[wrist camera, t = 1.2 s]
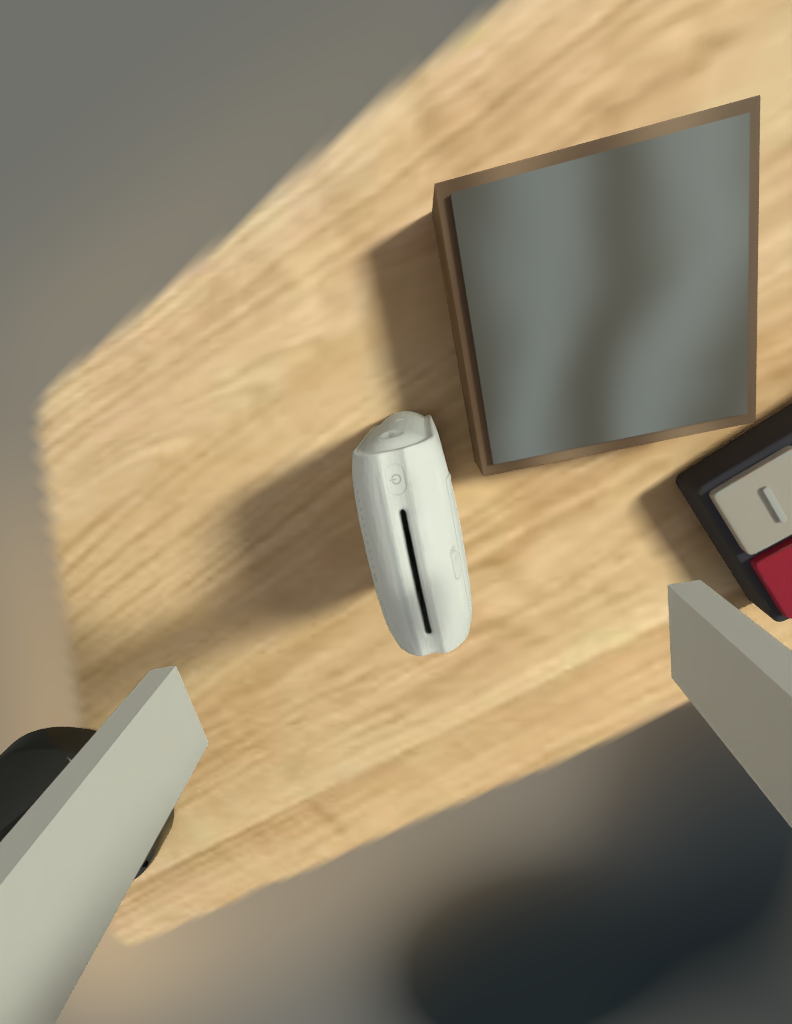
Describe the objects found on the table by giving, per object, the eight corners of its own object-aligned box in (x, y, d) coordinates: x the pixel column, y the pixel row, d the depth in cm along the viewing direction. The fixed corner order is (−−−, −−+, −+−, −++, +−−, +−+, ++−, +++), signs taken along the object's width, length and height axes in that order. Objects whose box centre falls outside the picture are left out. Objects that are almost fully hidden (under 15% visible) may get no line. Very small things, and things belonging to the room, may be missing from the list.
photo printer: (365, 416, 28) (328, 454, 17) (434, 401, 28) (445, 431, 16) (399, 565, 31) (387, 687, 20) (461, 555, 31) (487, 673, 19)
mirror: (474, 461, 29) (484, 477, 25) (432, 211, 25) (435, 181, 21) (708, 413, 27) (759, 422, 23) (704, 138, 23) (765, 90, 19)
